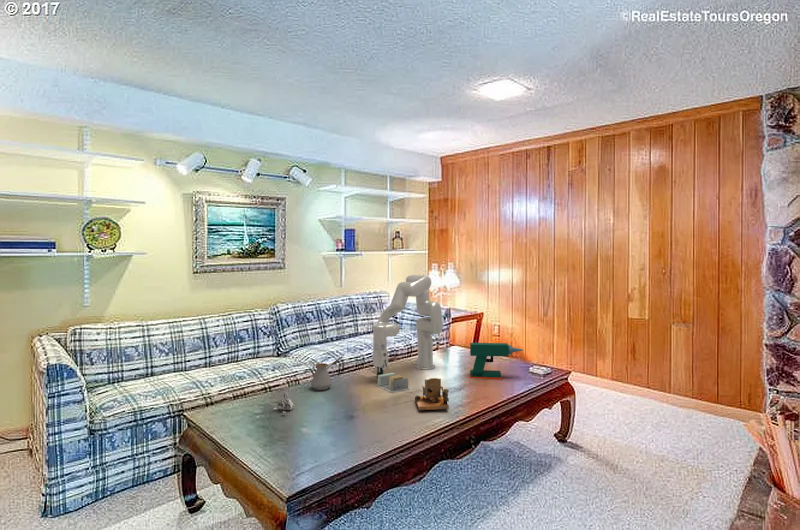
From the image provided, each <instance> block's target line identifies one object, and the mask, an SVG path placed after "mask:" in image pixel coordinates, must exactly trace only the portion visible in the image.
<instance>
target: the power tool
mask: <svg viewBox="0 0 800 530" xmlns="http://www.w3.org/2000/svg"><path fill="white" fill-rule="evenodd" d="M522 351H524V349H521V348H517V347H513V345H512V344H511V345H509V344H508V342H506V343H505V342H504V343H503V342H470V343H469V354H470V356H471V357H475V359H474V364H473V367H472V369H470V370H469V374H468V376H469V379H470V378H483V379H482V380H501V379H502V380H503V377H502V373H501V370H488V369H487V370H486V369H485V365H486V363H494V357H509V356H510V355H511V356H512V355H513V353H517V352H522ZM487 357H490V358H487Z"/></svg>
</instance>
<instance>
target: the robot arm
mask: <svg viewBox="0 0 800 530" xmlns="http://www.w3.org/2000/svg"><path fill="white" fill-rule="evenodd" d="M431 285H432V279H431V277H430V276H428V275H421V274H419V275H417V274H410V275H408V276H406V278H405V281H401V282H399V283H398V284H397V286H396V288H395V291H394V294H393V296H392V299H391V302H390V304H389V305H388V306H387V307H386V308H385V309H384V310H383V312H381V314H380V315H379V318H378V319H377V320H378V321H377V323H376V324H375V325H373V327H372V328H373V331H372V335H373V337H372V338H373V339H372V341H373V343H372V345H373V348H372V365H373V367H375V369H376V370H375V371H376V379H377V380H378V375H382V374H384V372H385V371H386V370H387V367H389V354H388V353H389V352H388V349H387V341H388V339H387V338H389V337H397V336H398V335H399V333H400V327H399V325H398V324H397V323H393V322H389V320H390V319H391V317H393V316H394V315H396V314H399V313H400V312H403V311H404V310H405V307H406V305H407V301H408V299H409V297H413V298H414V297H415V303H416V311H417V312H416V313H417V314H418V315H419V316H423V317H419V318H417V320H416V322H415V327H416V328H415V329H416V334H417V335H416V336H417V359H415V361H414V362H415V363H416V364H415V365H414V367H416V368H415V369H417V368H418V369H417V370H421V369H422V370H423V371H427V370H428V371H429V369H430V370H433V369H436V365H435V364H434V363H433V362H434V359H433V357H434V353H433V352H434V349H433V347H434V345H433V344H434V342H433V336H432V335H439V334H441V333H442V331H443V325H444V324H443V313H442V307H441V304H440V303H439V302H438V301H433V300H431V298H430V292H429V289H430V288H431ZM422 370H421V371H422Z"/></svg>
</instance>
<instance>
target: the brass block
mask: <svg viewBox="0 0 800 530" xmlns="http://www.w3.org/2000/svg"><path fill="white" fill-rule="evenodd" d="M403 378H404V376H403V375H400V374H395V376H389V388H391V381H392V380H398V379H403Z"/></svg>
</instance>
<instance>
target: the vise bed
mask: <svg viewBox="0 0 800 530" xmlns="http://www.w3.org/2000/svg"><path fill="white" fill-rule="evenodd" d="M376 386H377V387H379V388H380V389H383V390H385V391H387V392H389V393H392V394H393V393H400V392H405V391H409V390H410V387H409V378H407V377H403V379H398V380H392V381H391V388H389V384H384V385H378V383H377V384H376Z"/></svg>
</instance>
